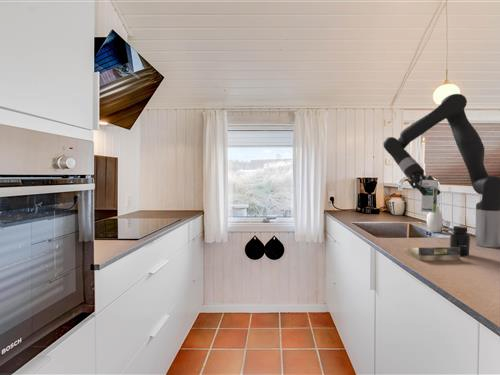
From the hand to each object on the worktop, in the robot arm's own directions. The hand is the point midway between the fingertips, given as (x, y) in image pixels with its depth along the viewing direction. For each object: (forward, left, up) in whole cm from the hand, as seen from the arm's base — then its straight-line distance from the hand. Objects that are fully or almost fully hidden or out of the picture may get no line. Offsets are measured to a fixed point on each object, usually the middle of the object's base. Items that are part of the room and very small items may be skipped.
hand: (432, 194), depth 128 cm
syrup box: (0, -2, -8) cm, 8 cm away
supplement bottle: (-3, +10, -26) cm, 28 cm away
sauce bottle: (-42, -20, -26) cm, 53 cm away
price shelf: (+10, +5, -26) cm, 28 cm away
